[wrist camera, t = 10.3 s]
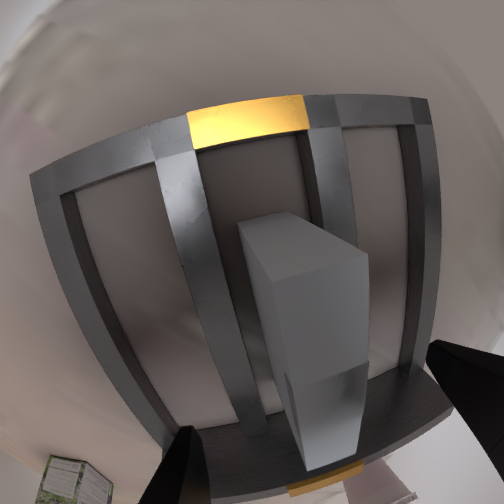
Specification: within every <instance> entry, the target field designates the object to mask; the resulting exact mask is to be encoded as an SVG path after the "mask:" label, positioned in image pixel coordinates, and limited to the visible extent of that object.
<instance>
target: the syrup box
mask: <svg viewBox="0 0 504 504" xmlns="http://www.w3.org/2000/svg"><path fill="white" fill-rule="evenodd" d="M113 487H114V486H113V484H112V483H111V482H109V481H108V480H107V479H106V478H104V477H103V476H102V475H101V474H99V473H98V472H97V471H96V470H95V469H93V468H92V467H91V466H90V465H89V464H88V463H86V462H81V461H75V460H69V459H64V458H59V457H54V456H50V457H49V459H48V462H47V465H46V468H45V471H44V474H43V477H42V481H41V484H40V488H39V491H38V494H37V498H36V501H35V504H111V501H112V494H113Z"/></svg>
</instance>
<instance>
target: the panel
mask: <svg viewBox="0 0 504 504" xmlns="http://www.w3.org/2000/svg"><path fill="white" fill-rule="evenodd" d="M237 226H238V231H239V235H240V239H241V244H242V248H243V252H244V257H245V261H246V265H247V269H248V274H249V278H250V282H251V286H252V291H253V295H254V299H255V303H256V307H257V312H258V316H259V320H260V324H261V328H262V332H263V337H264V341H265V345H266V349H267V353H268V357H269V361H270V365H271V370H272V374H273V378H274V381H275V384H276V387H277V390H278V393H279V396H280V398H281V401H282V404H283V407H284V410H285V412H286V415H287V418H288V421H289V424H290V426H291V429H292V432H293V435H294V437H295V440H296V443H297V445H298V448H299V451H300V454H301V456H302V459H303V462H304V464H305V467H306V470H307V471H310V470H313V469H316V468H319V467H322V466H325V465H327V464H330V463H333V462H335V461H338V460H341V459H343V458H346V457H348V456H350V455H353V454H355V453H356V450H357V444H358V439H359V433H360V426H361V420H362V415H363V413H364V406H365V398H366V389H367V379H368V367H369V361H368V346H369V264H368V254H367V253H365V252H364V251H362V250H360V249H358V248H356V247H355V246H353V245H351V244H349V243H347V242H345V241H344V240H342V239H340V238H338V237H336V236H334V235H332V234H331V233H329V232H327V231H325V230H323V229H321V228H319V227H317V226H315V225H313V224H312V223H310V222H308V221H306V220H304V219H302V218H300V217H298V216H296V215H294V214H292V213H290V212H288V211H284V212H280V213H275V214H271V215H267V216H263V217H258V218H254V219H250V220H246V221H242V222H238V223H237Z"/></svg>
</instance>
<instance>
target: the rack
mask: <svg viewBox="0 0 504 504" xmlns="http://www.w3.org/2000/svg"><path fill="white" fill-rule="evenodd" d="M370 127H398V132H399V138H400V144H401V150H402V157H403V164H404V173H405V182H406V193H407V206H408V227H409V272H408V292H407V306H406V316H405V326H404V334H403V341H402V348H401V355H400V361H399V366H398V367H396V368H394V369H392V370H390V371H388V372H386V373H384V374H382V375H380V376H378V377H375V378H373V379H371V380H369V381H367V389H366V398H365V406H364V413H363V415H362V420H361V426H360V433H359V439H358V444H357V450H356V453H355V454H353V455H350V456H348V457H346V458H343V459H341V460H338V461H335V462H333V463H330V464H327V465H325V466H322V467H319V468H316V469H313V470H310V471H307V470H306V467H305V464H304V462H303V459H302V456H301V454H300V451H299V448H298V445H297V443H296V440H295V437H294V435H293V432H292V429H291V426H290V424H289V421H288V418H287V415H286V412H285V411H284V412H280V413H276V414H273V415H269V416H266V415H265V412H264V409H263V406H262V403H261V399H260V396H259V393H258V389H257V386H256V383H255V379H254V376H253V373H252V369H251V366H250V363H249V359H248V356H247V352H246V349H245V345H244V342H243V338H242V335H241V331H240V328H239V324H238V320H237V317H236V313H235V309H234V306H233V302H232V298H231V295H230V291H229V287H228V283H227V279H226V276H225V272H224V268H223V264H222V260H221V256H220V252H219V248H218V244H217V240H216V236H215V232H214V228H213V224H212V220H211V216H210V211H209V207H208V203H207V199H206V194H205V190H204V186H203V181H202V177H201V173H200V168H199V164H198V159H197V154H196V153H198V152H202V151H206V150H210V149H215V148H219V147H224V146H229V145H234V144H239V143H244V142H249V141H255V140H261V139H266V138H273V137H279V136H286V135H293V134H296V137H297V142H298V147H299V152H300V157H301V162H302V167H303V173H304V178H305V184H306V190H307V196H308V202H309V208H310V215H311V221H312V224H313V225H315V226H317V227H319V228H321V229H323V230H325V231H327V232H329V233H331V234H332V235H334V236H336V237H338V238H340V239H342V240H344V241H345V242H347V243H349V244H351V245H353V246H355V247H356V248H358V246H357V234H356V223H355V213H354V204H353V196H352V189H351V182H350V175H349V168H348V162H347V156H346V150H345V145H344V140H343V134H342V129H353V128H370ZM153 164H156V168H157V173H158V177H159V182H160V186H161V190H162V194H163V198H164V202H165V206H166V210H167V214H168V218H169V221H170V225H171V229H172V232H173V236H174V240H175V243H176V247H177V250H178V253H179V257H180V260H181V264H182V267H183V270H184V273H185V277H186V280H187V283H188V286H189V289H190V292H191V295H192V299H193V302H194V305H195V308H196V311H197V313H198V316H199V319H200V322H201V325H202V328H203V331H204V333H205V336H206V339H207V342H208V344H209V347H210V350H211V353H212V355H213V358H214V360H215V363H216V366H217V368H218V371H219V373H220V376H221V378H222V381H223V383H224V386H225V388H226V391H227V393H228V396H229V398H230V400H231V403H232V405H233V407H234V410H235V412H236V414H237V417H238V419H239V421H240V423H235V424H230V425H225V426H219V427H213V428H207V429H201V430H196V431H197V433H198V434H199V436H200V437H201V440H202V443H203V449H204V454H205V459H206V465H207V470H208V475H209V482H210V495H211V504H233V503H240V502H246V501H252V500H257V499H262V498H267V497H272V496H276V495H280V494H285V493H288V492H289V495H290V497H294V496H297V495H301V494H304V493H308V492H311V491H314V490H317V489H320V488H323V487H326V486H329V485H332V484H334V483H337V482H340V481H342V480H345V479H347V478H350V477H352V476H354V475H357V474H359V473H361V472H362V469H363V466H365V465H367V464H369V463H371V462H373V461H375V460H377V459H379V458H381V457H383V456H385V455H387V454H389V453H391V452H393V451H395V450H397V449H398V448H400V447H402V446H404V445H406V444H407V443H409V442H411V441H412V440H414V439H416V438H417V437H419V436H420V435H422V434H424V433H425V432H427V431H428V430H430V429H431V428H433V427H434V426H436V425H437V424H439V423H440V422H442V421H443V420H444V419H446V418H447V417H448V416H450V415H451V413H452V411H453V409H454V405H453V404H452V403H451V401H450V400H449V399H448V397H447V396H446V395H445V393H444V392H443V390H442V389H441V387H440V386H439V385H438V384H437V383H436V382H435V381H434V380H433V379H432V378H431V377H430V376H429V375H428V374H427V373H426V372H425V371H424V370H423V367H424V363H425V359H426V354H427V350H428V346H429V341H430V336H431V331H432V326H433V320H434V314H435V307H436V300H437V292H438V283H439V272H440V258H441V192H440V178H439V167H438V158H437V150H436V143H435V137H434V131H433V125H432V120H431V115H430V110H429V106H428V101H427V99H423V98H414V97H404V96H391V95H369V94H333V95H310V96H303V95H302V94H301V95H289V96H279V97H270V98H262V99H255V100H248V101H241V102H235V103H230V104H224V105H219V106H214V107H209V108H204V109H200V110H195V111H191V112H187V114H186V115H182V116H178V117H174V118H170V119H167V120H163V121H160V122H156V123H153V124H150V125H146V126H143V127H140V128H137V129H134V130H131V131H128V132H125V133H122V134H119V135H117V136H114V137H111V138H108V139H106V140H103V141H101V142H98V143H96V144H93V145H91V146H88V147H86V148H83V149H81V150H79V151H77V152H74V153H72V154H70V155H68V156H65V157H63V158H61V159H59V160H57V161H55V162H53V163H51V164H49V165H47V166H45V167H43V168H41V169H39V170H37V171H35V172H34V173H32V174H30V175H29V176H30V182H31V187H32V192H33V196H34V201H35V205H36V209H37V213H38V217H39V221H40V225H41V228H42V232H43V235H44V238H45V242H46V245H47V248H48V251H49V254H50V257H51V260H52V263H53V265H54V268H55V271H56V273H57V276H58V279H59V281H60V284H61V286H62V289H63V291H64V293H65V296H66V298H67V300H68V303H69V305H70V307H71V309H72V311H73V314H74V316H75V318H76V320H77V322H78V324H79V326H80V328H81V330H82V332H83V334H84V336H85V338H86V340H87V341H88V343H89V345H90V347H91V349H92V351H93V352H94V354H95V356H96V358H97V359H98V361H99V363H100V364H101V366H102V368H103V369H104V371H105V373H106V374H107V376H108V377H109V379H110V380H111V382H112V384H113V385H114V387H115V388H116V390H117V391H118V393H119V394H120V395H121V397H122V398H123V400H124V401H125V403H126V404H127V405H128V407H129V408H130V410H131V411H132V412H133V414H134V415H135V416H136V418H137V419H138V420H139V421H140V423H141V424H142V425H143V427H144V428H145V429H146V430H147V432H148V433H149V434H150V435H151V436H152V438H153V439H154V440H155V441H156V442H157V443H158V445H159V446H160V447H161V448H162V449H163V450H162V460H163V458H164V456H165V454H166V452H167V450H168V449H169V447H170V445H171V443H172V441H173V439H174V438H175V436H176V434H177V432H178V430H179V427H178V425H177V424H176V422H175V421H174V419H173V418H172V417H171V415H170V414H169V412H168V410H167V409H166V407H165V406H164V404H163V403H162V401H161V400H160V398H159V396H158V395H157V393H156V391H155V390H154V388H153V386H152V385H151V383H150V381H149V380H148V378H147V376H146V374H145V373H144V371H143V369H142V367H141V365H140V364H139V362H138V360H137V358H136V356H135V354H134V352H133V350H132V348H131V347H130V345H129V343H128V341H127V339H126V337H125V334H124V332H123V330H122V328H121V326H120V324H119V322H118V320H117V317H116V315H115V313H114V311H113V308H112V306H111V304H110V301H109V299H108V297H107V294H106V292H105V289H104V287H103V284H102V282H101V279H100V276H99V274H98V271H97V268H96V265H95V263H94V260H93V257H92V254H91V251H90V248H89V245H88V242H87V238H86V235H85V232H84V229H83V225H82V222H81V218H80V214H79V211H78V207H77V203H76V199H75V195H74V192H76V191H78V190H81V189H83V188H86V187H88V186H91V185H93V184H96V183H99V182H102V181H104V180H107V179H110V178H113V177H116V176H119V175H121V174H124V173H127V172H131V171H134V170H137V169H140V168H143V167H146V166H150V165H153Z"/></svg>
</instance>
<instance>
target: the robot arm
mask: <svg viewBox="0 0 504 504" xmlns="http://www.w3.org/2000/svg"><path fill="white" fill-rule="evenodd" d="M425 360H426V364H427V366H428V367H429V369H430V370H431V372H432V374H433V375H434V377H435V379H436V380H437V382H438V384H439V385H440V387H441V389H442V390H443V392H444V393H445V395H446V396H447V397H448V399H449V400H450V401H451V403H452V404H453V405H454V407H455V408H456V409H457V411H458V412H459V414H460V415H461V416H462V418H463V419H464V421H465V422H466V423H467V425H468V426H469V428H470V429H471V431H472V432H473V434H474V435H475V437H476V438H477V440H478V441H479V443H480V444H481V446H482V447H483V449H484V450H485V452H486V453H487V455H488V457H489V458H490V460H491V461H492V463H493V465H494V467H495V468H496V469H497V471H498V473H499V475H500V476H501V478H502V480H503V482H504V356H499V355H495V354H492V353H488V352H484V351H480V350H476V349H472V348H468V347H465V346H461V345H457V344H453V343H450V342H446V341H442V340H438V339H437V340H435V341H433V342H431V343H430V344H429V346H428V350H427V354H426V359H425ZM138 504H211V495H210V482H209V475H208V470H207V465H206V459H205V454H204V449H203V443H202V440H201V437H200V436H199V434H198V433H197V431H196V430H195V428H194V427H193V426H192V425H189V426H182V427H180V428H179V430H178V432H177V434H176V436H175V438H174V439H173V441H172V443H171V445H170V447H169V449H168V450H167V452H166V454H165V456H164V458H163V460H162V461H161V463H160V465H159V467H158V469H157V470H156V472H155V474H154V476H153V478H152V479H151V481H150V483H149V485H148V486H147V488H146V490H145V492H144V493H143V495H142V497H141V499H140V501H139V503H138Z"/></svg>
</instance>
